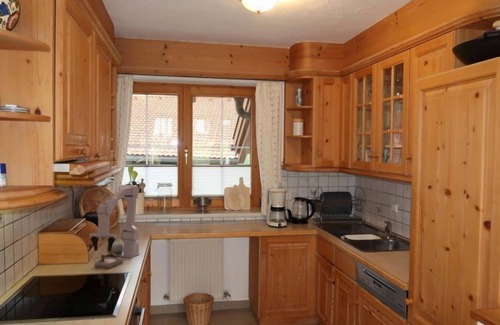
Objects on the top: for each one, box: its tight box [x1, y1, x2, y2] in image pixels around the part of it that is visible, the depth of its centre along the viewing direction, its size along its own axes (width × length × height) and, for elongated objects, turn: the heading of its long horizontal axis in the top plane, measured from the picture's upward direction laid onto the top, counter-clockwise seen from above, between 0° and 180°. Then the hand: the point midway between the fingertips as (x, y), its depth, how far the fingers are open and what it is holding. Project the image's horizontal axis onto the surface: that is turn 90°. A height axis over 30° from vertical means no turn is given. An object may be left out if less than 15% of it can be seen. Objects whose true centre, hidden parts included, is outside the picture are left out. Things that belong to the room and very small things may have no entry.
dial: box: [100, 254, 116, 263], centre depth 215 cm, size 8×8×5 cm
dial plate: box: [94, 256, 123, 270], centre depth 215 cm, size 10×11×3 cm
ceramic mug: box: [106, 241, 123, 258], centre depth 236 cm, size 11×8×8 cm
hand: (102, 250), depth 209 cm, fingers open, 7 cm apart
